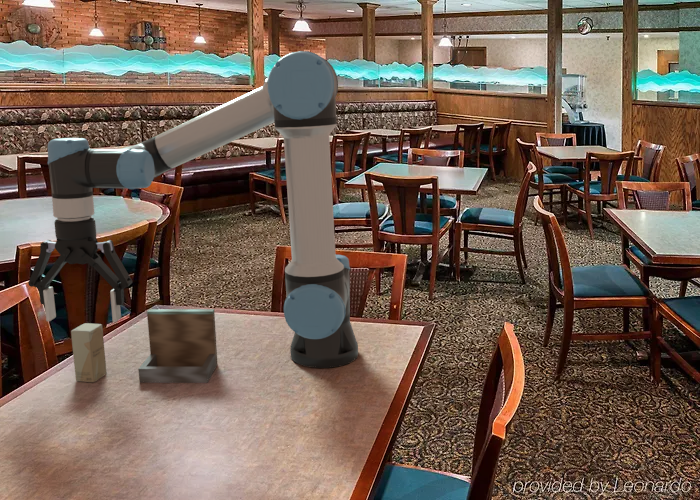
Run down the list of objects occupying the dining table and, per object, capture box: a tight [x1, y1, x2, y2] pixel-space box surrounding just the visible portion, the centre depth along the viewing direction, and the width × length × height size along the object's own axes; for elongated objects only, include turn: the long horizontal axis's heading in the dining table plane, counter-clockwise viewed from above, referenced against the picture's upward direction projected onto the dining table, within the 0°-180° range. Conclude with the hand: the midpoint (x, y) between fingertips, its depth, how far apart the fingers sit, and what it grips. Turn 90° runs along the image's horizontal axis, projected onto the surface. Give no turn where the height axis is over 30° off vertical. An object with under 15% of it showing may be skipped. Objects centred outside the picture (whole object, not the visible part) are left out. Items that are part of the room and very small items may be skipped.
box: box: [70, 322, 107, 383], centre depth 141 cm, size 5×4×11 cm
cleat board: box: [137, 308, 218, 384], centre depth 142 cm, size 14×10×13 cm
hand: (84, 319), depth 139 cm, fingers open, 13 cm apart
